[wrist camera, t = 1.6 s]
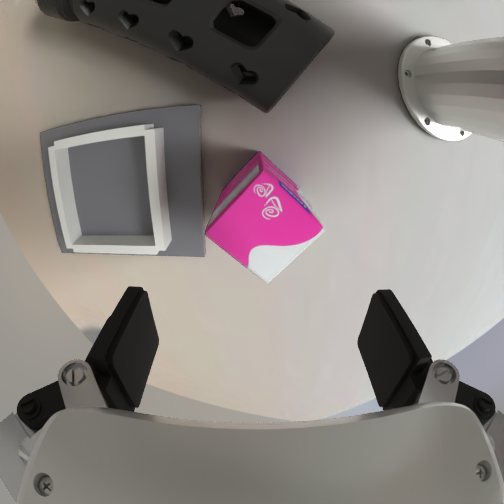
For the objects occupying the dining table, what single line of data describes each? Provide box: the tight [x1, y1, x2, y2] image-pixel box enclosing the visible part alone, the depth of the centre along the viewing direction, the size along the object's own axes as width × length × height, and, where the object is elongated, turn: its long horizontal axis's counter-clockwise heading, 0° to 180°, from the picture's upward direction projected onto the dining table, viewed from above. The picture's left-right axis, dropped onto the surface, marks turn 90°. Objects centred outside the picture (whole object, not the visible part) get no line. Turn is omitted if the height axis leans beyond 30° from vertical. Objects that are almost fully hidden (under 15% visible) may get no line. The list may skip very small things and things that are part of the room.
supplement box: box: [205, 151, 325, 283], centre depth 22 cm, size 6×6×12 cm
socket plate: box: [40, 105, 206, 257], centre depth 26 cm, size 20×16×4 cm
